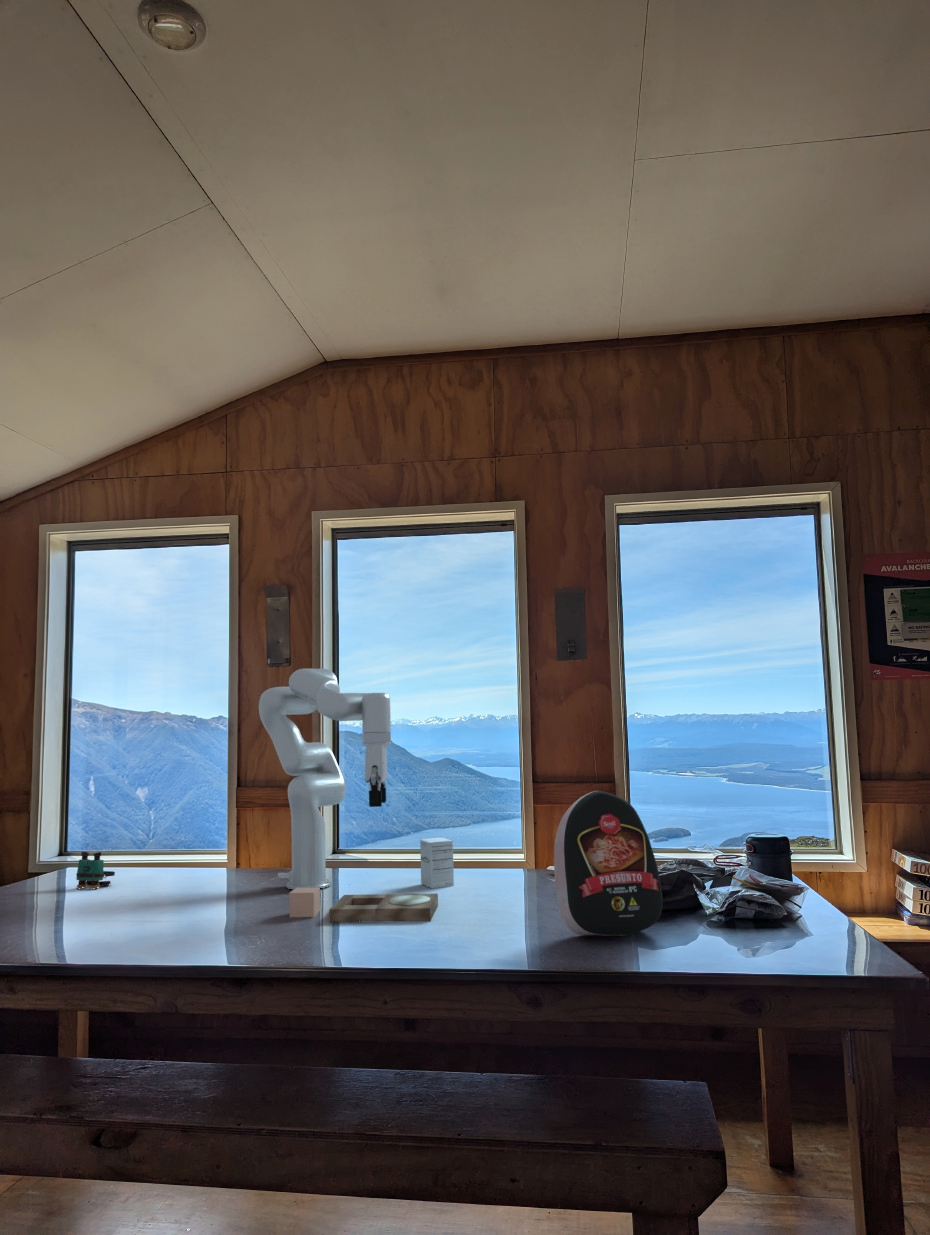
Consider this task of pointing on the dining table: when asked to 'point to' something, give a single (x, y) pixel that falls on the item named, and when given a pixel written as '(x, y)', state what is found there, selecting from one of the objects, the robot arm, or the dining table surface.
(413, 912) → the hole platform
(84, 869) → the green boxy piece
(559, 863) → the packaged food
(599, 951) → the dining table surface
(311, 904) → the block
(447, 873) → the supplement box
